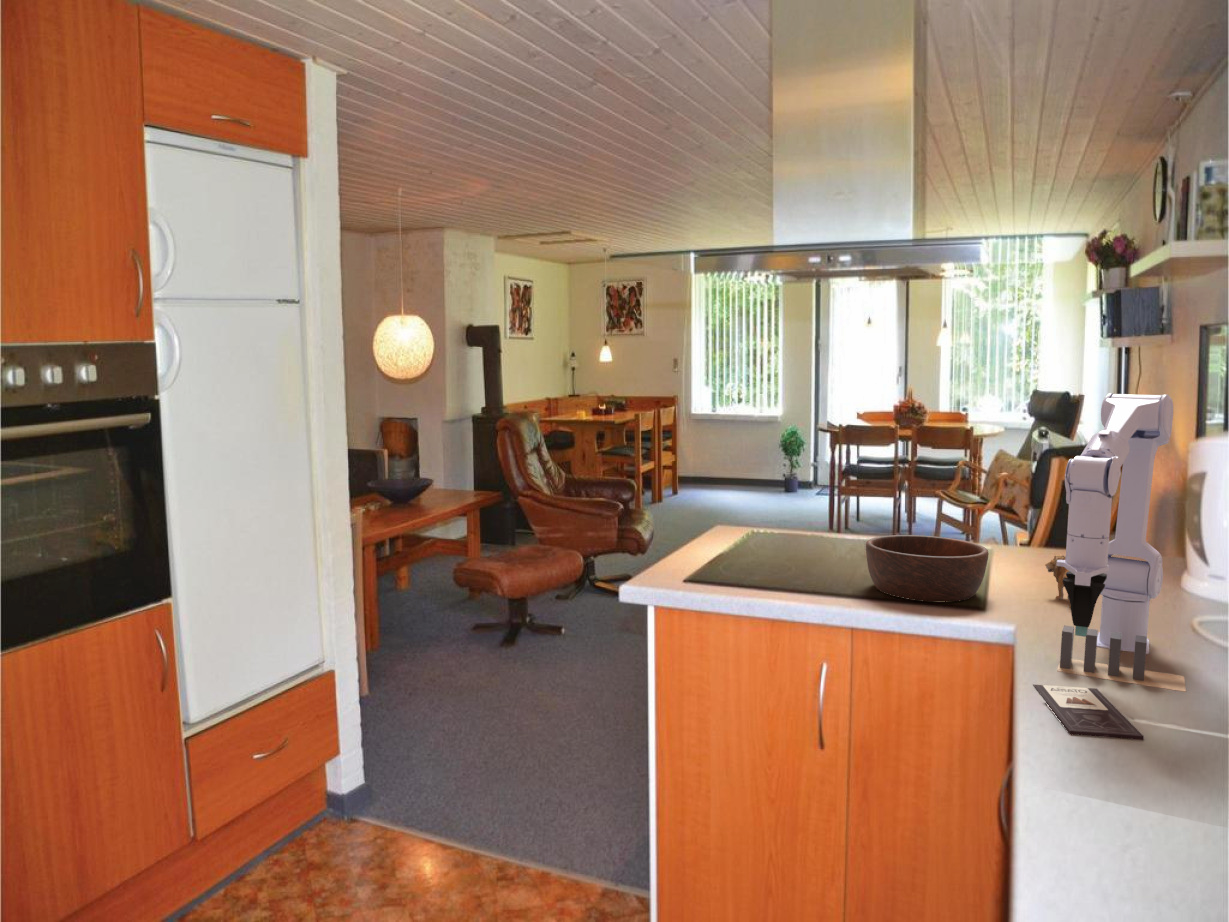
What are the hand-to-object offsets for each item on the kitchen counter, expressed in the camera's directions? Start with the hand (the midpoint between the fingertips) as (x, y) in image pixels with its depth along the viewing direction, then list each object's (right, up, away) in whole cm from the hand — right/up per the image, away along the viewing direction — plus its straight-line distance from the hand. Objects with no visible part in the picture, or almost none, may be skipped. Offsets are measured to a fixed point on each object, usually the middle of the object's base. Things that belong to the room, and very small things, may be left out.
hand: (1082, 622), depth 140 cm
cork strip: (+8, -9, +4) cm, 13 cm away
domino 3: (+4, -9, +6) cm, 11 cm away
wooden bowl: (-5, -4, +57) cm, 58 cm away
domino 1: (+1, -8, +8) cm, 11 cm away
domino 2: (0, -2, 0) cm, 2 cm away
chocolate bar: (-6, -11, -11) cm, 17 cm away
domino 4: (+7, -9, +4) cm, 12 cm away
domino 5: (+10, -9, +3) cm, 14 cm away
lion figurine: (+22, -5, +50) cm, 55 cm away
